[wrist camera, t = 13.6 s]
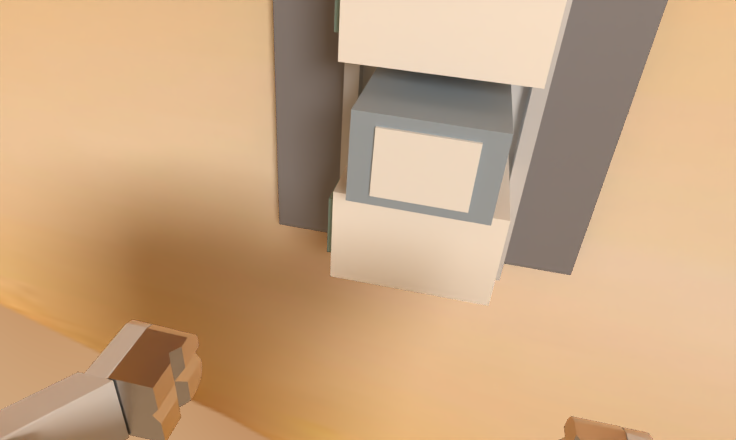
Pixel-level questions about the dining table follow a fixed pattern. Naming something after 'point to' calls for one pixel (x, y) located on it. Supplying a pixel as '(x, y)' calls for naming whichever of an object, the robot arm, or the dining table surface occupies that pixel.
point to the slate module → (430, 144)
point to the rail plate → (556, 147)
